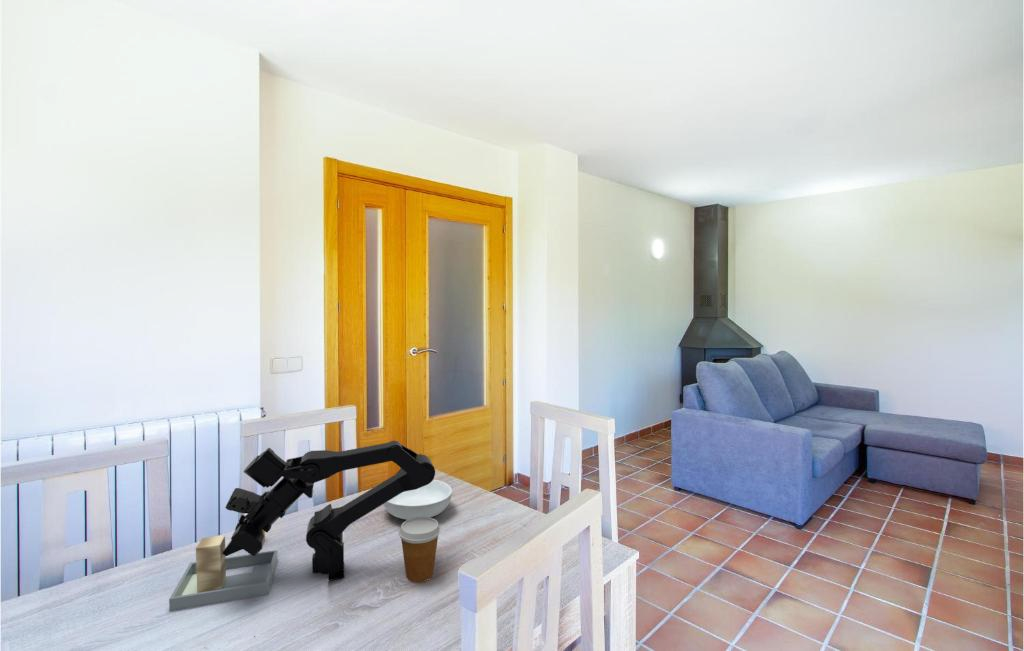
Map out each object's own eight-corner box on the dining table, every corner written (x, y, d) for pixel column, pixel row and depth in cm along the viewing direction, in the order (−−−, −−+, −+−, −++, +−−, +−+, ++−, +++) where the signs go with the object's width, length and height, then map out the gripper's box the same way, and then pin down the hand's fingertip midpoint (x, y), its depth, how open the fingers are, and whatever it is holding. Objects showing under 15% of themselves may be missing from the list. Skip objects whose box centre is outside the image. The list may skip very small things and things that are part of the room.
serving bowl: (446, 530, 136) (446, 506, 135) (372, 528, 136) (372, 505, 135) (456, 499, 156) (456, 478, 156) (391, 498, 157) (391, 477, 156)
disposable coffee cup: (390, 581, 111) (390, 530, 110) (412, 560, 120) (412, 513, 119) (427, 590, 108) (427, 538, 107) (447, 568, 117) (447, 519, 116)
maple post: (226, 578, 109) (225, 535, 108) (221, 590, 104) (220, 545, 104) (203, 582, 107) (201, 538, 107) (197, 594, 103) (195, 548, 102)
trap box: (277, 566, 116) (277, 550, 116) (268, 601, 103) (268, 582, 103) (190, 579, 111) (190, 562, 110) (169, 618, 97) (169, 599, 97)
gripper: (258, 463, 116) (205, 513, 113) (242, 493, 98) (180, 554, 95) (294, 491, 119) (244, 541, 116) (285, 525, 101) (226, 586, 98)
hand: (224, 554), depth 106 cm, fingers closed
